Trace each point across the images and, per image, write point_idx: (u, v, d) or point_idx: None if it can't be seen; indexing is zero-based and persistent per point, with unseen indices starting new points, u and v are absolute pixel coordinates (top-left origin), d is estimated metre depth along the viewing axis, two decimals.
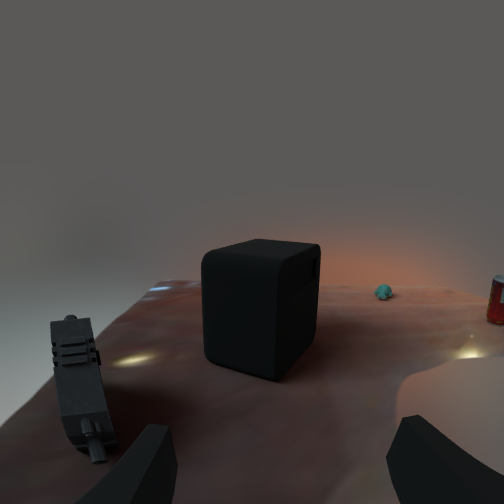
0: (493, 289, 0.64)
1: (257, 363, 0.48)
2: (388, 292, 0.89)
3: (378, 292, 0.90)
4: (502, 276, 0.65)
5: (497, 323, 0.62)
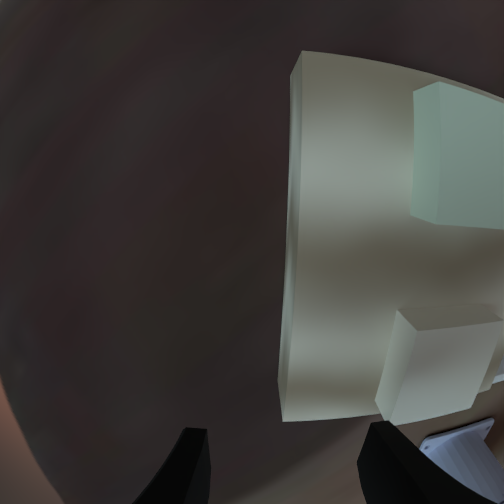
0: None
1: None
2: None
3: None
4: None
5: None
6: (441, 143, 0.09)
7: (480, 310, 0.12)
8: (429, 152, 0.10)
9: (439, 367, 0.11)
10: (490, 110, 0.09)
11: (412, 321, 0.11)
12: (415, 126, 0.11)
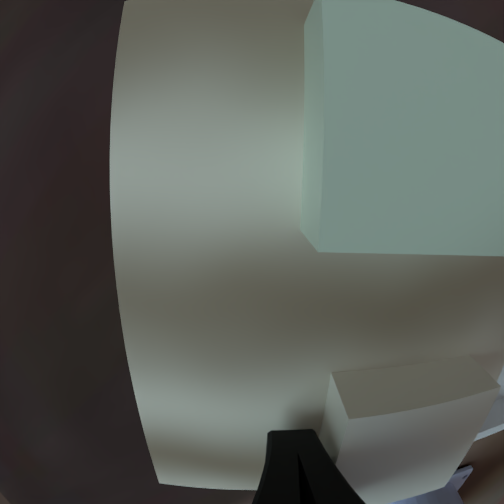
0: None
1: None
2: None
3: None
4: None
5: None
6: (326, 89, 0.05)
7: (467, 368, 0.08)
8: (314, 114, 0.06)
9: (392, 456, 0.07)
10: (442, 34, 0.04)
11: (348, 398, 0.07)
12: (305, 77, 0.06)
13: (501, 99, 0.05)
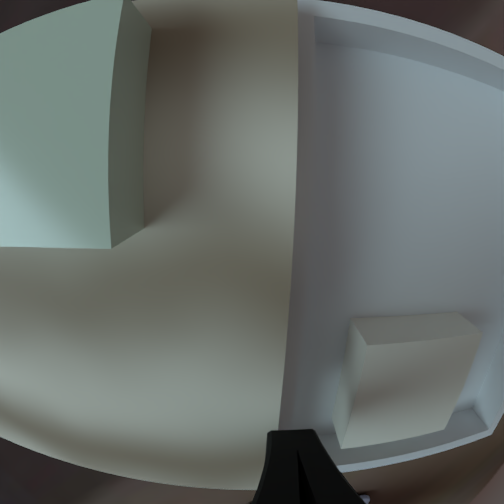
0: None
1: None
2: None
3: None
4: None
5: None
6: None
7: (377, 332, 0.10)
8: None
9: None
10: (21, 41, 0.04)
11: (463, 319, 0.11)
12: None
13: (75, 67, 0.05)
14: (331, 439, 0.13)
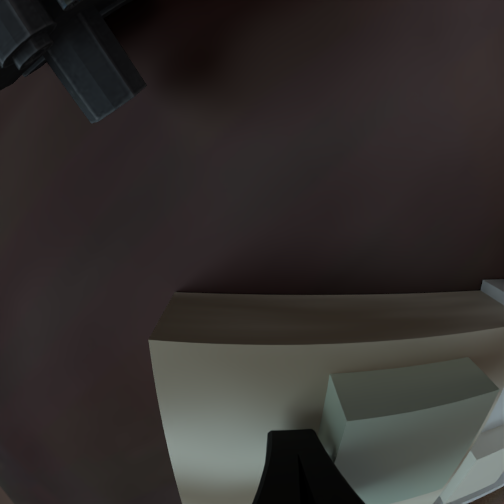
0: None
1: None
2: None
3: None
4: None
5: None
6: None
7: (478, 449, 0.12)
8: None
9: None
10: (430, 420, 0.07)
11: None
12: (323, 413, 0.09)
13: (461, 432, 0.07)
14: None
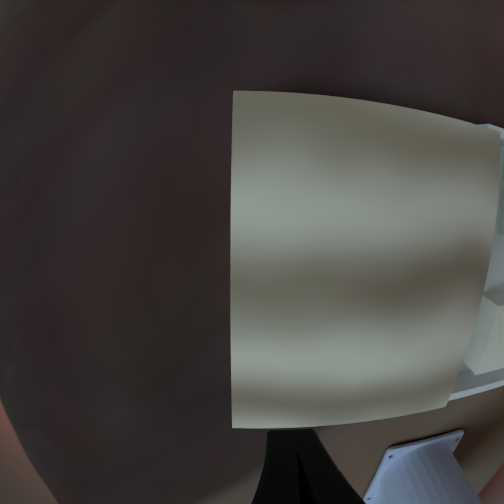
0: None
1: None
2: None
3: None
4: None
5: None
6: None
7: (497, 300, 0.16)
8: None
9: None
10: None
11: None
12: None
13: None
14: (460, 375, 0.18)
